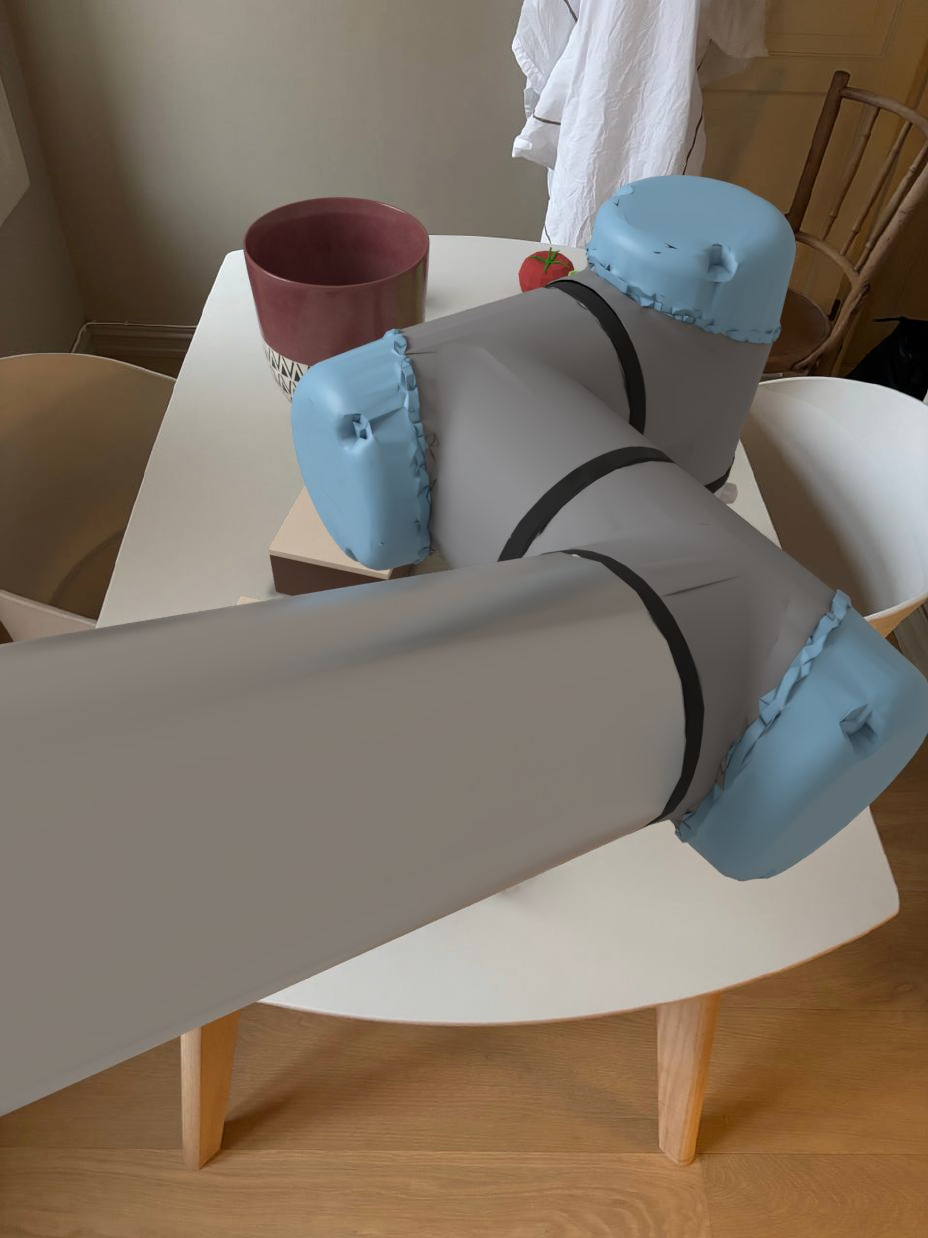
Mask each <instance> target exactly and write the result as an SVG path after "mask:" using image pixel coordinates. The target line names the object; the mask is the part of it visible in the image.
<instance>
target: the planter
mask: <svg viewBox="0 0 928 1238" xmlns="http://www.w3.org/2000/svg"><path fill="white" fill-rule="evenodd" d="M430 244H431V242H430V235H429V233H428V231H427V229H426V227H425V226H424V224H423V223H422V222H421V221H420V220H419V219H418V218H416V216H414V215H412V214H411V213H409V212H408V211H406V210H404V209H401V208H400V207H397V206H394V205H392V204H389V203H385V202H382V201H378V200H373V199H367V198H362V197H350V196H348V197H347V196H328V197H315V198H308V199H303V200H298V201H294V202H290V203H288V204H287V203H286V204H284V205H281V206H279V207H276V208H274V209H272V210H269V211H268V212H266V213H264V214H263V215H261V216H260V217H258V218H257V219H255V220H254V221H253V222H252V223H251V224H250V225H249V227H248V228H247V229H246V231H245V233H244V235H243V238H242V252H243V256H244V257H243V258H244V262H245V267H246V272H247V277H248V282H249V286H250V291H251V295H252V300H253V305H254V309H255V315H256V320H257V324H258V328H259V334H260V338H261V342H262V347H263V351H264V356H265V358H266V362H267V365H268V368H269V370H270V372H271V374H272V377H273V379H274V381H275V383H276V385H277V386H278V388H279V390H280V391H281V393H282V394H283V396H284V397H285V398H286V399H287V400H288V401H289V402H290V403H291V404H292V400H293V395H294V391H295V388H296V386H297V384H298V382H299V380H300V379H301V377H302V376H303V375H304V374H305V373H306V371H307V370H308V369H309V368H311V367H312V366H313V365H315V364H317V363H318V362H321V361H324V360H326V359H329V358H332V357H334V356H337V355H339V354H342V353H345V352H347V351H350V350H353V349H355V348H358V347H360V346H363V345H366V344H368V343H371V342H374V341H376V340H379V339H381V338H383V336H384V335H385V334H386V332H387V331H390V330H392V329H399V328H400V330H401V329H404V328H408V327H411V326H414V325H418V324H421V323H424V322H426V317H427V299H428V283H429V281H428V280H429V270H430V249H431V248H430V246H431V245H430Z"/></svg>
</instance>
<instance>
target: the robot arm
mask: <svg viewBox="0 0 928 1238" xmlns="http://www.w3.org/2000/svg"><path fill="white" fill-rule="evenodd" d="M584 247H585V253H584V254H585V255H584V256H586V261H587V262H586V266H585V268H584V269H581V270H579V271H580V272H577V273H575V274H573V275H569V276H566V277H563V278H560V279H557V280H554V281H551V282H549V283H548V284H547V285H546V286H544V287H541V288H537V289H534V290H531V291H527V292H524V293H523V292H521V293H517V294H514V295H510V296H508V297H504V298H502V299H501V298H500V299H498V300H495V301H491V302H488V303H484V304H481V305H477V306H474V307H472V308H468V309H465V310H461V311H458V312H455V313H451V314H448V315H445V316H441V317H438V318H434V319H432V320H428V321H425V322H424V323H421V324H418V325H414V326H411V327H408V328H404V329H401V330H400V328H399V329H392V330H390V331H387V332H386V334H385V335H384V336H383V338H381V339H379V340H376V341H374V342H371V343H368V344H366V345H363V346H360V347H358V348H355V349H353V350H350V351H347V352H345V353H342V354H339V355H337V356H334V357H332V358H329V359H326V360H324V361H321V362H318V363H317V364H315V365H313V366H312V367H311V368H309V369H308V370H307V371H306V373H305V374H304V375H303V376H302V377H301V379H300V380H299V382H298V384H297V386H296V388H295V391H294V395H293V400H292V403H291V408H290V424H291V425H290V427H291V435H292V441H293V447H294V452H295V456H296V459H297V464H298V467H299V470H300V474H301V477H302V479H303V483H304V486H306V488H307V491H308V493H309V496H310V498H311V500H312V503H313V505H314V507H315V509H316V511H317V513H318V515H319V517H320V519H321V520H322V522H323V524H324V526H325V528H326V529H327V531H328V532H329V534H330V536H331V537H332V538H333V540H334V541H335V543H336V544H337V545H338V546H339V548H340V549H341V550H342V551H343V552H344V553H345V554H346V555H347V556H348V557H349V558H351V559H352V560H354V561H356V562H359V563H361V564H362V565H363V566H365V567H367V568H369V569H373V570H376V571H382V570H389V569H392V568H396V567H399V566H403V565H407V564H410V563H412V564H415V565H418V564H420V563H421V562H423V561H424V560H427V559H428V558H429V557H432V556H434V555H437V556H438V557H439V558H441V559H442V560H443V561H444V563H445V564H446V565H447V566H448V567H449V568H450V569H447V570H441V571H435V572H430V573H423V574H418V575H417V574H416V575H411V576H407V577H404V578H398V579H392V580H386V581H380V582H374V583H368V584H362V585H356V586H350V587H344V588H338V589H332V590H326V591H320V592H314V593H308V594H302V595H296V596H294V595H290V596H284V597H278V598H271V599H266V600H265V599H264V600H263V601H259V602H253V603H247V604H241V605H237V604H236V605H230V606H222V607H218V608H212V609H211V608H210V609H206V610H200V611H199V610H198V611H194V612H188V613H182V614H176V615H175V614H174V615H169V616H164V617H163V616H162V617H157V618H151V619H146V620H145V619H144V620H140V621H133V622H127V623H126V622H125V623H122V624H121V623H120V624H115V625H108V626H102V627H97V628H92V629H91V628H90V629H85V630H78V631H73V632H66V633H60V634H55V635H49V636H48V635H47V636H43V637H42V636H41V637H36V638H30V639H23V640H17V641H12V642H7V643H1V644H0V1118H1V1117H3V1116H5V1115H7V1114H10V1113H12V1112H14V1111H16V1110H18V1109H21V1108H23V1107H25V1106H27V1105H30V1104H32V1103H34V1102H36V1101H39V1100H41V1099H43V1098H45V1097H48V1096H49V1095H51V1094H54V1093H56V1092H59V1091H61V1090H63V1089H65V1088H68V1087H70V1086H71V1085H74V1084H76V1083H79V1082H81V1081H83V1080H85V1079H87V1078H89V1077H91V1076H93V1075H96V1074H99V1073H101V1072H103V1071H105V1070H108V1069H110V1068H112V1067H114V1066H117V1065H118V1064H121V1063H123V1062H125V1061H127V1060H130V1059H132V1058H134V1057H137V1056H138V1055H140V1054H143V1053H145V1052H147V1051H149V1050H152V1049H154V1048H156V1047H159V1046H161V1045H163V1044H165V1043H167V1042H169V1041H173V1040H174V1039H176V1038H178V1037H181V1036H183V1035H185V1034H187V1033H190V1032H192V1031H194V1030H197V1029H199V1028H200V1027H203V1026H205V1025H208V1024H210V1023H212V1022H214V1021H216V1020H219V1019H221V1018H223V1017H225V1016H227V1015H230V1014H232V1013H234V1012H236V1011H238V1010H241V1009H243V1008H245V1007H248V1006H249V1005H252V1004H254V1003H256V1002H258V1001H261V1000H264V999H266V998H267V997H269V996H272V995H274V994H277V993H279V992H280V991H284V990H285V989H287V988H290V987H292V986H294V985H296V984H298V983H301V982H304V981H306V980H308V979H309V978H312V977H315V976H317V975H318V974H321V973H323V972H325V971H327V970H330V969H332V968H334V967H336V966H339V965H341V964H343V963H345V962H348V961H350V960H352V959H354V958H357V957H359V956H361V955H363V954H366V953H368V952H370V951H372V950H374V949H376V948H378V947H381V946H383V945H385V944H388V943H389V942H392V941H394V940H397V939H399V938H401V937H403V936H405V935H408V934H410V933H413V932H415V931H417V930H419V929H421V928H424V927H426V926H427V925H430V924H432V923H434V922H437V921H439V920H442V919H443V918H445V917H447V916H450V915H452V914H454V913H456V912H459V911H461V910H463V909H466V908H467V907H470V906H472V905H475V904H477V903H479V902H482V901H483V900H485V899H488V898H490V897H492V896H494V895H496V894H499V893H501V892H503V891H505V890H508V889H510V888H513V887H514V886H517V885H519V884H521V883H523V882H525V881H527V880H530V879H532V878H534V877H537V876H538V875H541V874H544V873H547V872H548V871H550V870H552V869H554V868H557V867H559V866H561V865H563V864H566V863H568V862H570V861H572V860H574V859H576V858H579V857H581V856H584V855H586V854H588V853H590V852H592V851H595V850H596V849H597V850H598V849H599V848H601V847H603V846H606V845H608V844H610V843H612V842H615V841H617V840H619V839H622V838H623V837H625V836H628V835H631V834H634V833H636V832H638V831H640V830H642V829H645V828H647V827H649V826H653V825H655V824H660V823H663V822H665V821H670V822H671V824H673V826H674V829H675V830H674V835H675V836H676V837H677V839H678V840H679V841H680V842H681V843H682V844H686V843H687V844H688V845H689V846H690V847H691V849H693V850H695V851H696V853H698V855H699V856H701V858H703V859H704V860H705V861H707V863H709V864H710V865H711V867H713V868H714V869H715V870H716V871H717V872H718V873H719V874H721V875H722V876H723V877H726V878H730V879H732V880H736V881H738V882H748V881H752V880H753V881H754V880H760V879H761V880H764V879H765V880H768V879H770V878H773V877H775V876H777V875H780V874H782V873H784V872H785V871H787V870H788V869H790V868H793V867H794V866H795V865H796V864H799V863H800V862H802V861H803V860H804V859H806V858H808V857H809V856H810V855H812V854H814V853H815V852H816V851H818V850H819V849H820V848H821V847H822V846H824V845H825V844H827V842H828V841H830V840H831V839H832V838H834V837H835V836H836V835H838V833H840V832H841V831H842V830H844V829H845V828H846V827H847V826H848V825H849V824H851V822H853V821H854V820H855V819H856V818H857V817H858V816H859V815H860V814H862V813H863V812H864V811H865V809H867V808H868V807H869V806H870V805H871V804H872V803H873V802H875V800H876V799H877V798H879V796H880V795H881V794H882V793H883V792H884V791H885V790H886V789H887V788H888V787H889V786H890V785H891V783H893V781H894V780H895V779H896V778H897V776H898V775H899V774H900V773H901V772H902V771H903V770H904V768H905V767H906V766H907V765H908V763H909V762H910V761H911V760H912V758H913V757H915V755H916V753H917V752H918V750H919V749H920V747H921V745H922V744H923V743H924V741H925V739H926V737H927V736H928V680H927V678H926V676H924V675H923V673H922V672H921V671H920V670H919V668H917V667H916V666H915V665H914V664H913V663H912V662H911V661H910V660H909V659H908V658H907V657H905V656H904V655H903V654H902V653H901V652H900V651H899V650H898V649H897V648H896V647H895V646H893V645H892V644H891V643H890V642H889V641H888V640H887V639H886V638H885V637H884V636H883V635H882V633H880V632H879V631H878V630H877V629H876V628H875V627H874V626H873V625H872V624H871V623H870V622H869V621H867V620H866V618H865V617H864V616H862V614H861V613H859V612H858V611H857V610H856V609H855V608H854V607H853V606H852V599H851V598H850V596H849V595H847V593H845V592H843V591H842V590H840V589H839V588H838V589H836V591H834V589H832V588H831V587H830V586H828V585H827V584H825V582H823V581H822V580H821V579H819V577H817V576H816V575H814V574H813V573H812V572H811V571H810V570H808V569H807V568H806V567H804V566H803V564H801V563H800V562H798V560H796V559H795V558H794V557H792V556H791V555H790V554H789V553H787V552H786V550H783V549H782V548H781V547H780V546H779V545H777V544H776V543H775V542H774V541H772V540H771V539H770V538H769V537H767V536H766V535H765V534H763V532H761V531H760V530H759V529H758V528H756V527H755V526H754V525H752V524H751V523H750V522H749V521H747V520H746V519H745V518H744V517H743V516H742V515H740V514H738V512H737V511H735V510H734V509H733V508H732V507H730V506H729V505H732V504H734V503H735V502H736V500H737V498H738V493H739V490H738V487H737V484H736V483H732V482H728V479H729V477H730V474H731V470H732V468H733V465H734V461H735V459H736V451H737V448H738V445H739V442H740V439H741V436H742V435H743V431H744V428H745V425H746V422H747V419H748V416H749V413H750V410H751V408H752V405H753V401H754V399H755V396H756V393H757V390H758V387H759V384H760V381H761V379H762V377H763V374H764V370H765V367H766V365H767V361H768V358H769V355H770V353H771V350H772V347H773V344H774V342H776V341H777V340H778V339H779V337H780V334H781V332H782V325H781V317H782V313H783V309H784V305H785V302H786V301H785V300H786V296H787V292H788V289H789V285H790V280H791V275H792V272H793V268H794V264H795V261H796V251H797V246H796V237H795V234H794V231H793V229H792V226H791V224H790V222H789V221H788V219H787V218H786V216H785V215H784V214H783V213H782V212H781V210H779V209H778V207H776V206H775V205H774V204H773V203H771V202H770V201H768V200H767V199H765V198H763V197H761V196H759V195H757V194H755V193H753V192H752V191H750V190H749V189H747V188H745V187H743V186H740V185H737V184H735V183H732V182H727V181H723V180H719V179H714V178H711V177H705V176H699V175H698V176H697V175H686V174H685V175H684V174H672V175H671V174H670V175H656V176H648V177H644V178H642V179H638V180H634V181H631V182H628V183H627V184H626V183H625V184H624V185H622V186H621V187H618V189H617V190H615V193H613V195H612V196H611V197H610V198H608V199H607V200H605V202H603V203H602V205H601V206H599V208H598V211H597V212H596V216H595V218H594V224H593V229H592V234H591V239H589V241H588V242H587V244H585V246H584Z"/></svg>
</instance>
